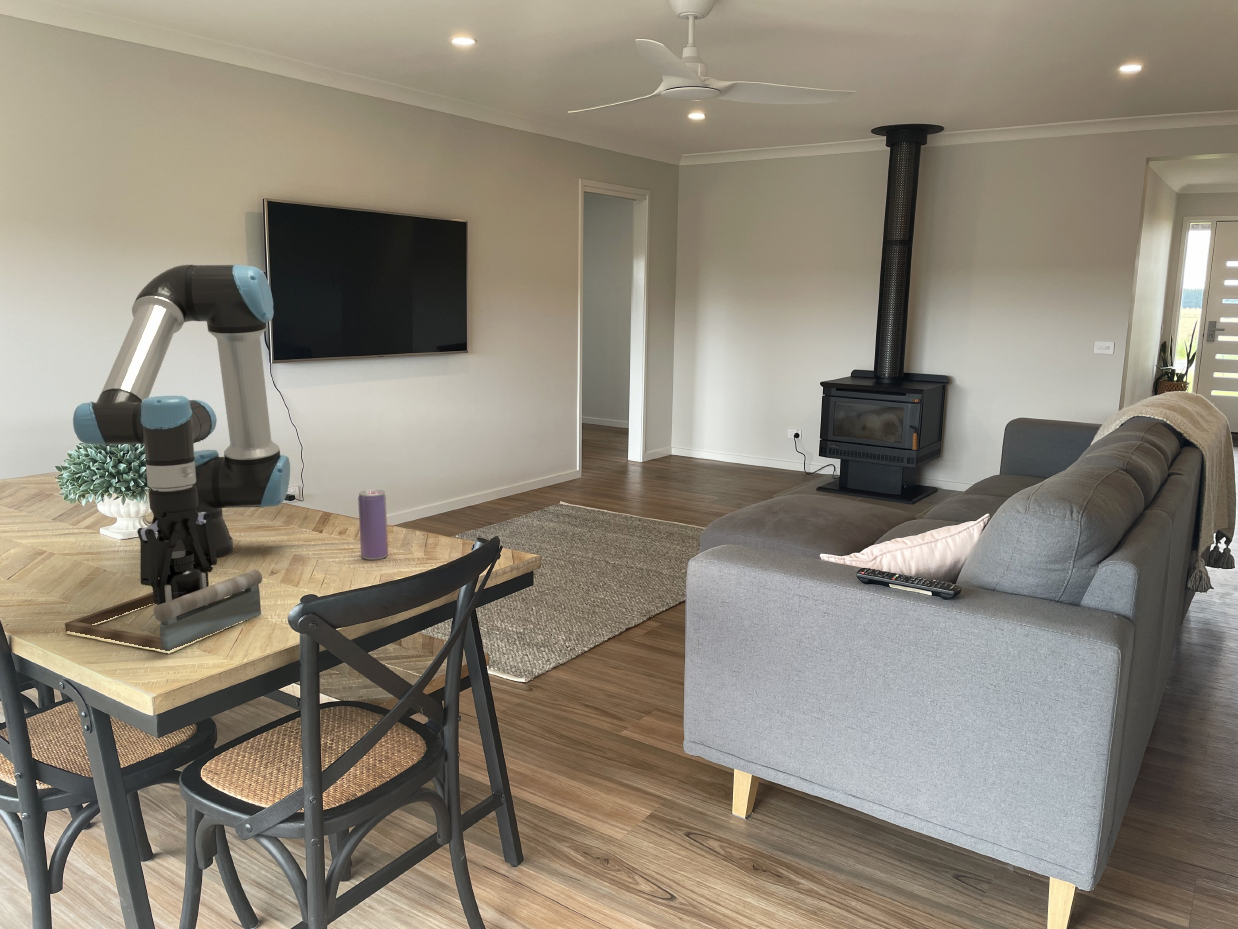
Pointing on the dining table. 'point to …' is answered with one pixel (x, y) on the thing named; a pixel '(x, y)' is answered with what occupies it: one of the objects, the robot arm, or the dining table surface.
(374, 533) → the beverage can
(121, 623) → the dining table surface
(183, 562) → the supplement bottle
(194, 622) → the bay
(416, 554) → the dining table surface
